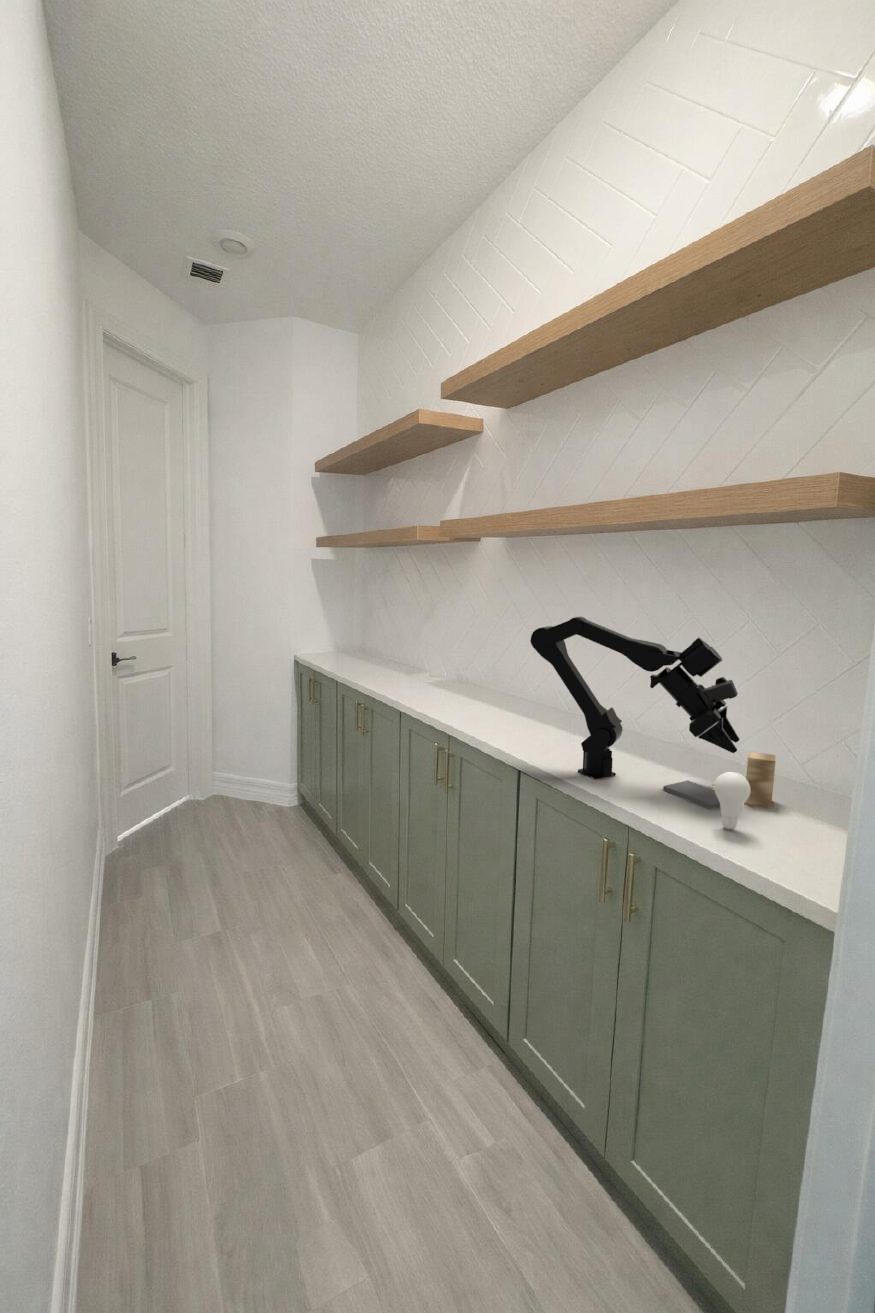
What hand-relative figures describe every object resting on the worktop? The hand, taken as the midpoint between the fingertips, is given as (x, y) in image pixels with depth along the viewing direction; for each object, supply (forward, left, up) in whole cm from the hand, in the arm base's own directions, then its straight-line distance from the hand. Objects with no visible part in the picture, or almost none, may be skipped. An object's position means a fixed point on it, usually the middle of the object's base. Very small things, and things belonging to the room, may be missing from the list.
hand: (736, 746), depth 127 cm
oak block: (+4, +3, -11) cm, 12 cm away
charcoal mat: (-4, -6, -11) cm, 13 cm away
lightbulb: (+10, -15, -12) cm, 22 cm away
